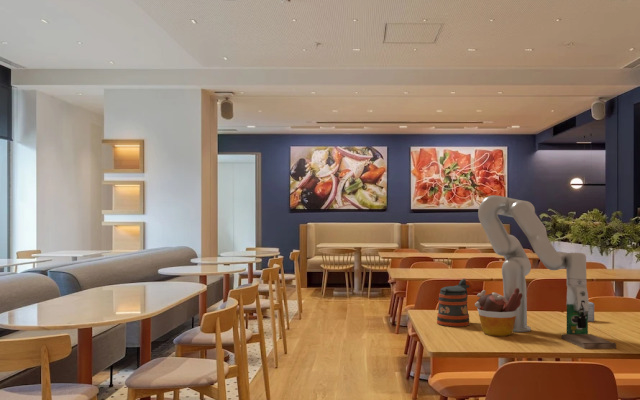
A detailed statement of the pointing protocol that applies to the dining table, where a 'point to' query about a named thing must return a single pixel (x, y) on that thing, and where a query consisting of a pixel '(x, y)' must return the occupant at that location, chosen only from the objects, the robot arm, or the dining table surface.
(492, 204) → the robot arm
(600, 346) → the walnut board
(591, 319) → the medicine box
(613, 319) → the dining table surface
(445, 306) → the beer stein
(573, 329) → the coffee box
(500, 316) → the bucket of meat
